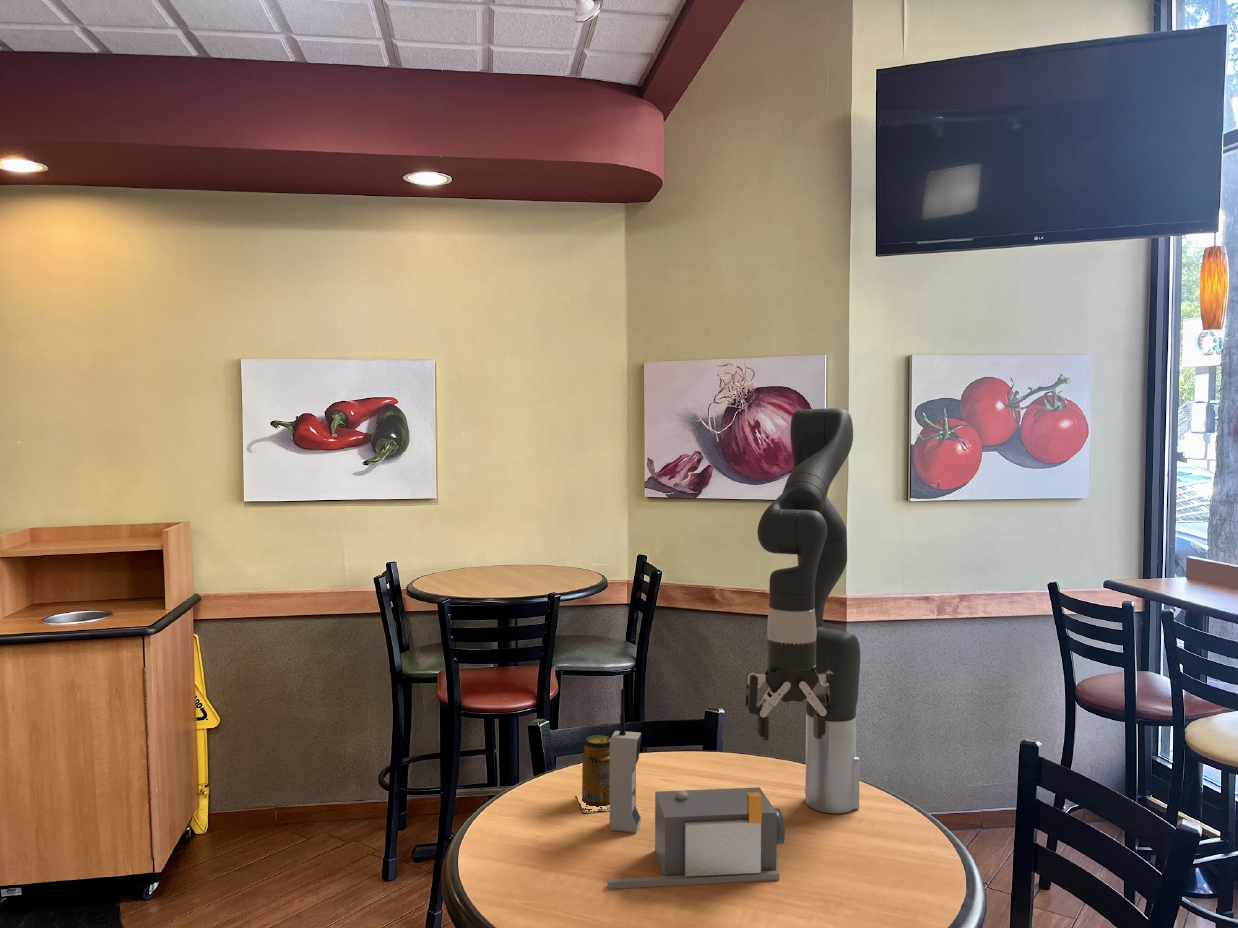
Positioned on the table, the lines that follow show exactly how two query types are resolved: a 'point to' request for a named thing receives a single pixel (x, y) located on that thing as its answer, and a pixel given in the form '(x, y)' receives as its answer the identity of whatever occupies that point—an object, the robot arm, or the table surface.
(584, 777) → the yellow drink can
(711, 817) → the grey box machine
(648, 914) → the table surface
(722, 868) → the side door
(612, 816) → the vintage mobile phone
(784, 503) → the robot arm
